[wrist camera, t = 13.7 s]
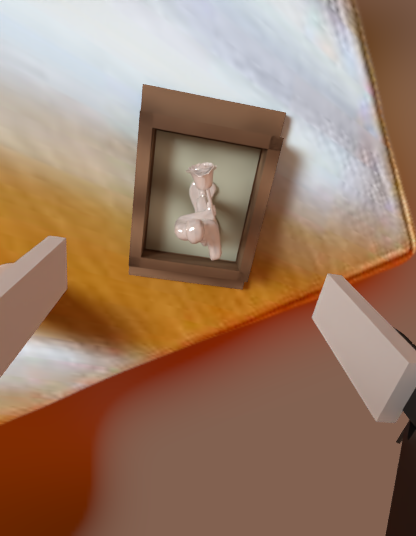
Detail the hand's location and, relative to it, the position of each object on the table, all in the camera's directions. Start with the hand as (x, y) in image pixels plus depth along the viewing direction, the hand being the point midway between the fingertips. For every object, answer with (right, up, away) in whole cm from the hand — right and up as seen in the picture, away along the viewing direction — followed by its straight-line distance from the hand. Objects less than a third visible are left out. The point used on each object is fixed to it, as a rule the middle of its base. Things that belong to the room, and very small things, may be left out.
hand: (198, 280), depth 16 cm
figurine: (0, +8, +18) cm, 20 cm away
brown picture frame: (0, +8, +19) cm, 21 cm away
